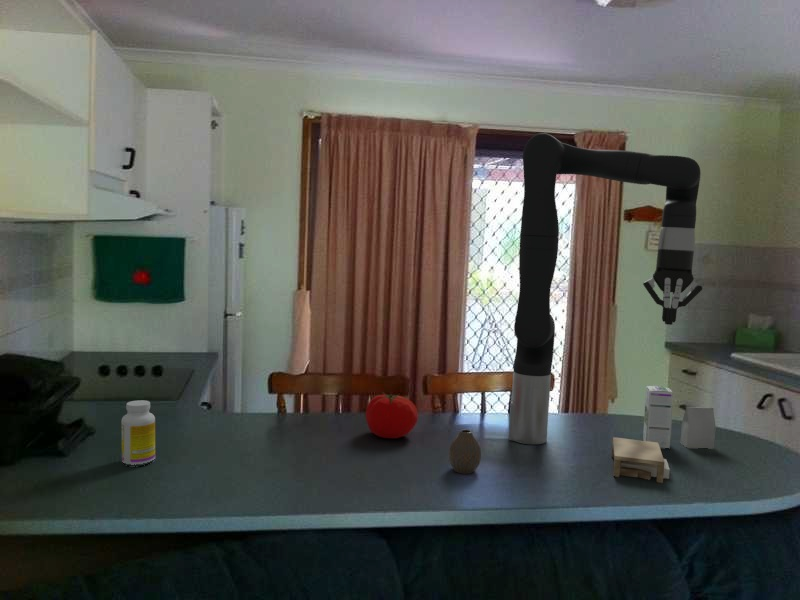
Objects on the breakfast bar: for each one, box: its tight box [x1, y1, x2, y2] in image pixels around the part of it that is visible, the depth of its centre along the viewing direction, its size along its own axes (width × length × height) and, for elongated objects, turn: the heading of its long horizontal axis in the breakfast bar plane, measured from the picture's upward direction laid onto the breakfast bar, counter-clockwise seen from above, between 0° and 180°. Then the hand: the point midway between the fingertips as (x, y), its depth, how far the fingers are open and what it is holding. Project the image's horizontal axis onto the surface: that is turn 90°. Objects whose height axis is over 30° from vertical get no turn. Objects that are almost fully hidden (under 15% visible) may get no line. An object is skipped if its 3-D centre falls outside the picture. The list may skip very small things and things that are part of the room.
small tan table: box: [611, 436, 665, 484], centre depth 144 cm, size 10×14×5 cm
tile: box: [621, 458, 671, 480], centre depth 144 cm, size 10×7×2 cm
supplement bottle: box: [120, 399, 156, 465], centre depth 136 cm, size 7×7×13 cm
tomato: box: [365, 391, 419, 439], centre depth 161 cm, size 13×12×11 cm
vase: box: [448, 429, 482, 475], centre depth 139 cm, size 7×7×9 cm
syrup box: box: [642, 385, 674, 449], centre depth 162 cm, size 6×6×14 cm
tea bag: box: [679, 406, 717, 450], centre depth 163 cm, size 4×7×10 cm, turn 91°
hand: (668, 324), depth 147 cm, fingers closed
